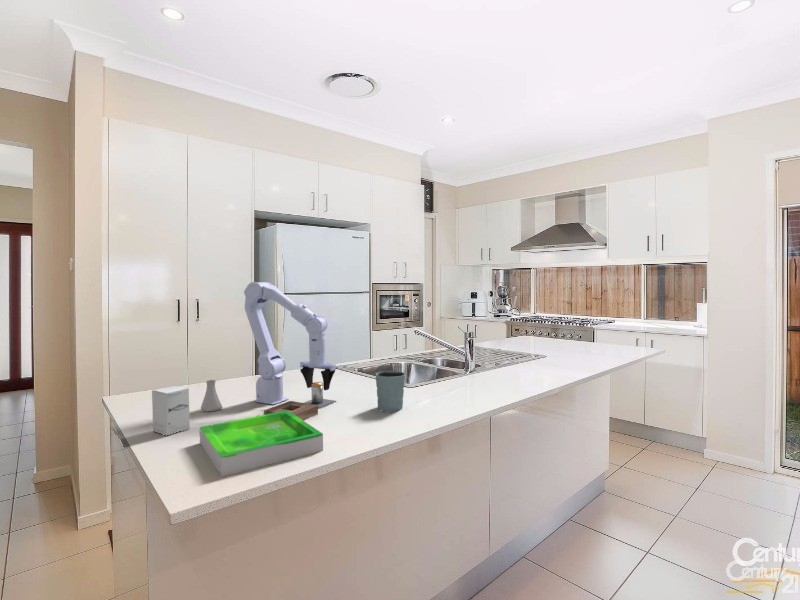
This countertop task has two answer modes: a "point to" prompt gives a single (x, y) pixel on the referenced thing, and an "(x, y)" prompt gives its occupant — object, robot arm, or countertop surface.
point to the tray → (258, 441)
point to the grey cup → (390, 390)
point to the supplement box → (170, 409)
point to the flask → (211, 398)
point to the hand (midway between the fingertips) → (318, 388)
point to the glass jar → (317, 392)
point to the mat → (325, 403)
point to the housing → (295, 409)
